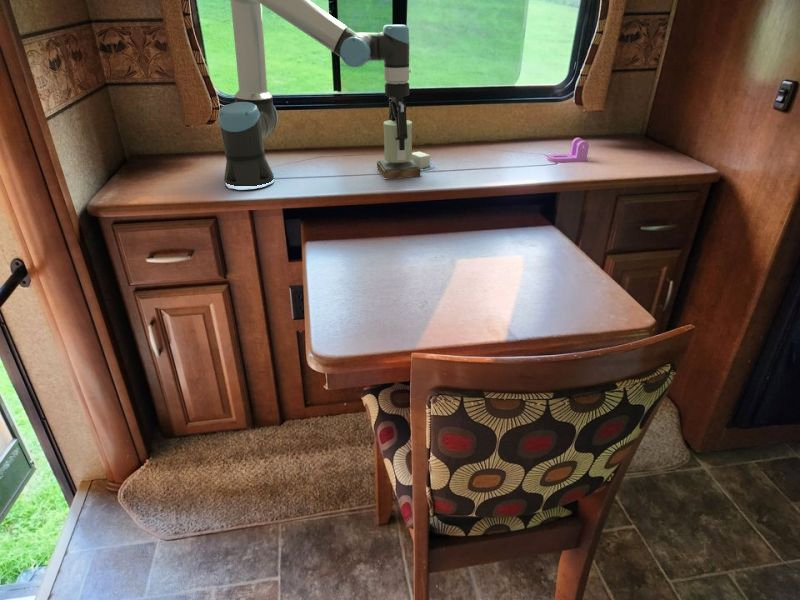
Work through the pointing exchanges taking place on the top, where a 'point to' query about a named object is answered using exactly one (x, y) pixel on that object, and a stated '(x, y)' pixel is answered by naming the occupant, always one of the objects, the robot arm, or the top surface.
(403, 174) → the stand
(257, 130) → the robot arm
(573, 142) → the bracket
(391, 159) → the can
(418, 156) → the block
